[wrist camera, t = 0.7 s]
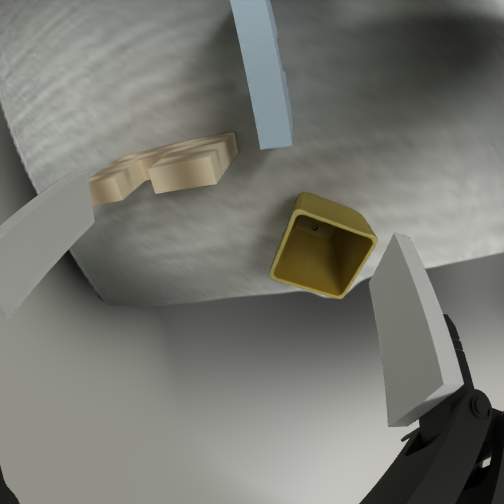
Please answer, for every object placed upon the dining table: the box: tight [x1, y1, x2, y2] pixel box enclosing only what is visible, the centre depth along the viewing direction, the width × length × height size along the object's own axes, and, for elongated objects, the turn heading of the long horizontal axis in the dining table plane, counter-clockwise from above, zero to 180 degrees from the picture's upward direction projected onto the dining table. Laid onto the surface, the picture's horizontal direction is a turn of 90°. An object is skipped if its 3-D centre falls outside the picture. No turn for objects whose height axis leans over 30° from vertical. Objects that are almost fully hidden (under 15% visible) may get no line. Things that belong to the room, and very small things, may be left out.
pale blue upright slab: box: [230, 0, 294, 150], centre depth 21 cm, size 16×2×10 cm, turn 10°
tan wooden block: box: [89, 132, 239, 207], centre depth 29 cm, size 16×2×10 cm, turn 100°
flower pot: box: [269, 192, 378, 299], centre depth 32 cm, size 9×9×9 cm
